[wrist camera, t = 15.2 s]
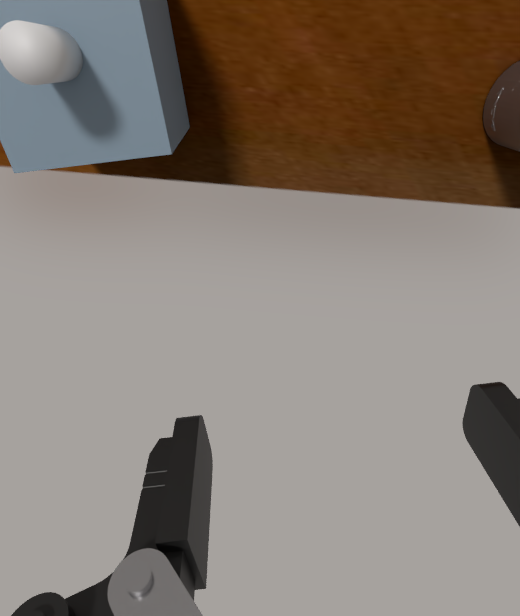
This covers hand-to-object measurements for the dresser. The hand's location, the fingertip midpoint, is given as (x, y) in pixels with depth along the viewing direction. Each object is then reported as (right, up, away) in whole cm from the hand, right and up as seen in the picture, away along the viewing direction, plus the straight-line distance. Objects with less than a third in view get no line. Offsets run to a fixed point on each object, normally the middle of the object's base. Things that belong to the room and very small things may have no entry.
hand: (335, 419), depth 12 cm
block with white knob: (-17, +29, +28) cm, 44 cm away
